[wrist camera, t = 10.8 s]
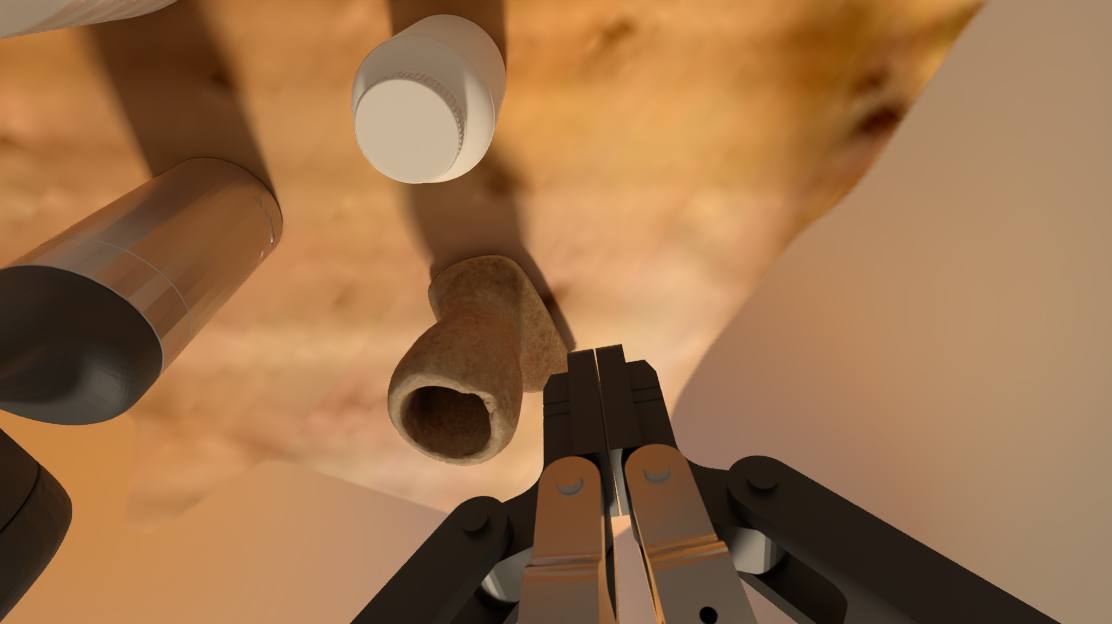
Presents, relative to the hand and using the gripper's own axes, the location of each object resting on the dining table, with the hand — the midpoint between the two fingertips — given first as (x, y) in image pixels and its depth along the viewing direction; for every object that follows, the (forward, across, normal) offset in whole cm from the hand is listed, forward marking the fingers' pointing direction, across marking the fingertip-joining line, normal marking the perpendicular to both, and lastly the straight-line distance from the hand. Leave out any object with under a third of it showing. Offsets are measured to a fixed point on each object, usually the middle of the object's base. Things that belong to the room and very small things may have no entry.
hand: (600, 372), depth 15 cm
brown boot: (+31, -10, -18) cm, 38 cm away
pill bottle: (+31, -8, +4) cm, 32 cm away
